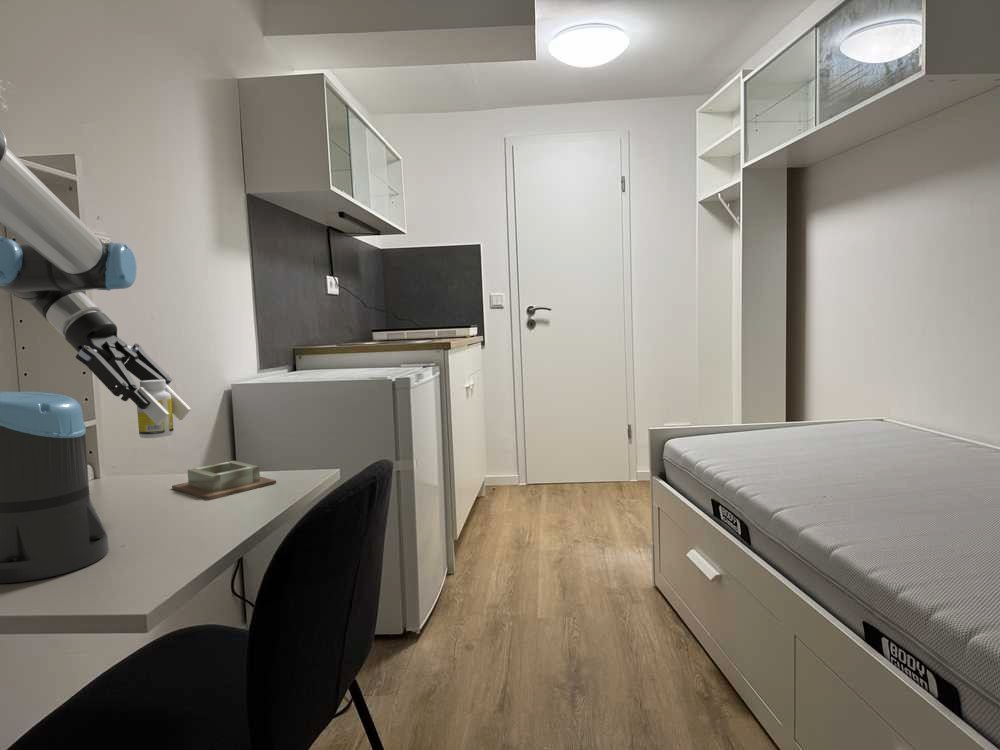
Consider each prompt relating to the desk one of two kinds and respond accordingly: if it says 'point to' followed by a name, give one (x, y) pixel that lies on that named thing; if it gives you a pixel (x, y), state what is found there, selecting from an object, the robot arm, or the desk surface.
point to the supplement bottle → (164, 398)
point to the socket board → (222, 480)
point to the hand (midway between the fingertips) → (174, 416)
